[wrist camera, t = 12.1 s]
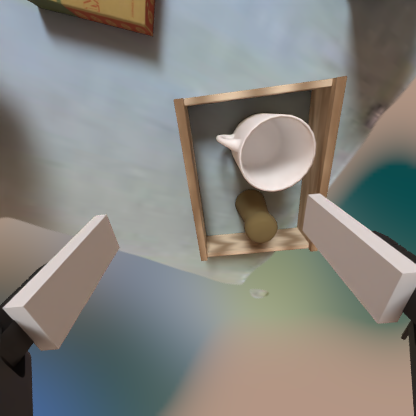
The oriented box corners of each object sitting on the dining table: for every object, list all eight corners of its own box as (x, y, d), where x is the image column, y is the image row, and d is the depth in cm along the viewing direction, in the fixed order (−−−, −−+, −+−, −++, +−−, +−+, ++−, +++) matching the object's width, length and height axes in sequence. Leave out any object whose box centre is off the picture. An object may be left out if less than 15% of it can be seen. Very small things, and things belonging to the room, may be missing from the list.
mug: (280, 167, 36) (309, 189, 26) (216, 171, 37) (219, 195, 26) (286, 111, 32) (323, 111, 22) (214, 116, 33) (216, 118, 22)
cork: (270, 203, 40) (290, 233, 30) (247, 221, 42) (259, 255, 32) (252, 183, 38) (267, 208, 28) (229, 202, 40) (235, 232, 30)
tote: (202, 239, 44) (201, 260, 38) (180, 101, 32) (173, 99, 25) (301, 230, 43) (317, 250, 36) (318, 83, 30) (347, 75, 24)
